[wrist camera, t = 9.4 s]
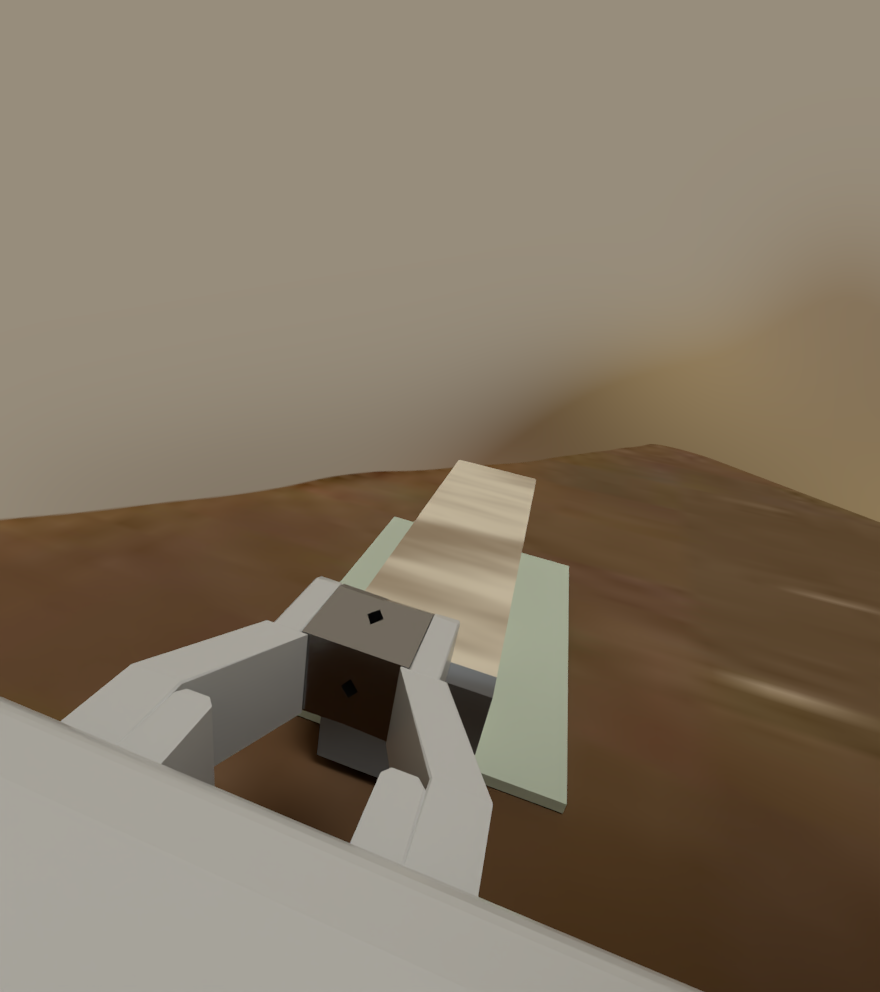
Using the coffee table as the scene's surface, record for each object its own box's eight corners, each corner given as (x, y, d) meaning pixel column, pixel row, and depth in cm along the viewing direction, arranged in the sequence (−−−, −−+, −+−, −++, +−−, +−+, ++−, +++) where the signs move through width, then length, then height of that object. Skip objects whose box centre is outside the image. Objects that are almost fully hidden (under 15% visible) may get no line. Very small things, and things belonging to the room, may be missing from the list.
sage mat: (562, 813, 16) (567, 804, 16) (251, 698, 18) (251, 689, 18) (566, 572, 30) (568, 566, 30) (393, 523, 32) (394, 516, 32)
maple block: (492, 697, 13) (536, 479, 29) (327, 642, 14) (459, 459, 30) (458, 809, 15) (516, 547, 31) (317, 754, 16) (445, 527, 32)
